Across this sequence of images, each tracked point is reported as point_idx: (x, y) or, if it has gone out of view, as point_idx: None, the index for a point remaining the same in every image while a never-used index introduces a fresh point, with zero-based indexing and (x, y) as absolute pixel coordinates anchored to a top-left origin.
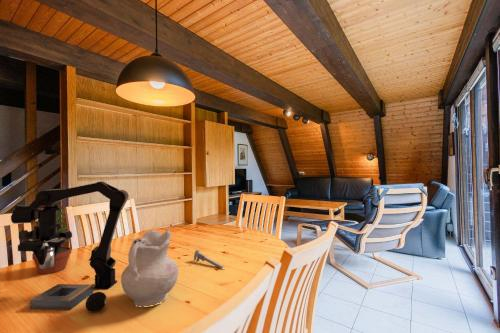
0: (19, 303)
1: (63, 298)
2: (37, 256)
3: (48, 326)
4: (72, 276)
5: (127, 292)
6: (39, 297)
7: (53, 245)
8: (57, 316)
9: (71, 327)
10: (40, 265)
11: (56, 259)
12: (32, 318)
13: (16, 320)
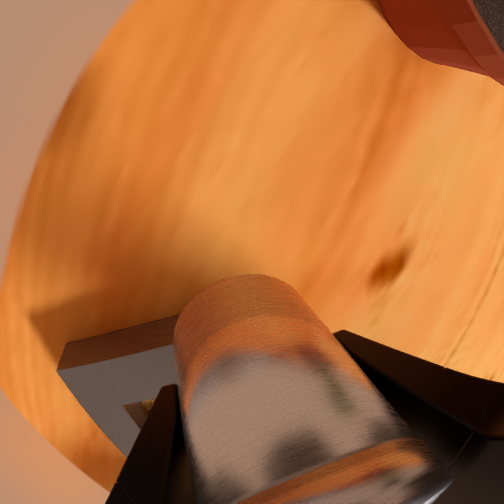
0: (65, 240)
1: None
2: (126, 502)
3: (72, 457)
4: (395, 186)
5: None
6: (92, 384)
7: (466, 487)
8: (104, 447)
9: (105, 486)
10: (175, 365)
11: (469, 51)
12: (54, 403)
13: (18, 371)
